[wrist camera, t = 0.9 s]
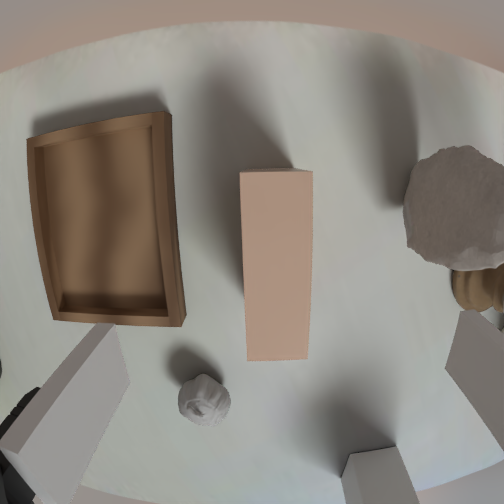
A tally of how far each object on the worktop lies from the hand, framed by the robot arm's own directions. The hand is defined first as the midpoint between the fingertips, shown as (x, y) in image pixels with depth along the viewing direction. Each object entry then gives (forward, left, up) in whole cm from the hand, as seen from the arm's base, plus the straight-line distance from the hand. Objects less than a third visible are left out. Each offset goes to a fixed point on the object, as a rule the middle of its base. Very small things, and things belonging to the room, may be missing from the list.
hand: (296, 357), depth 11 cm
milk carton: (+14, -33, -17) cm, 40 cm away
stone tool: (+13, +4, -17) cm, 22 cm away
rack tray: (-15, +2, -17) cm, 23 cm away
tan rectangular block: (0, 0, -17) cm, 17 cm away
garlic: (-7, -16, -18) cm, 25 cm away
